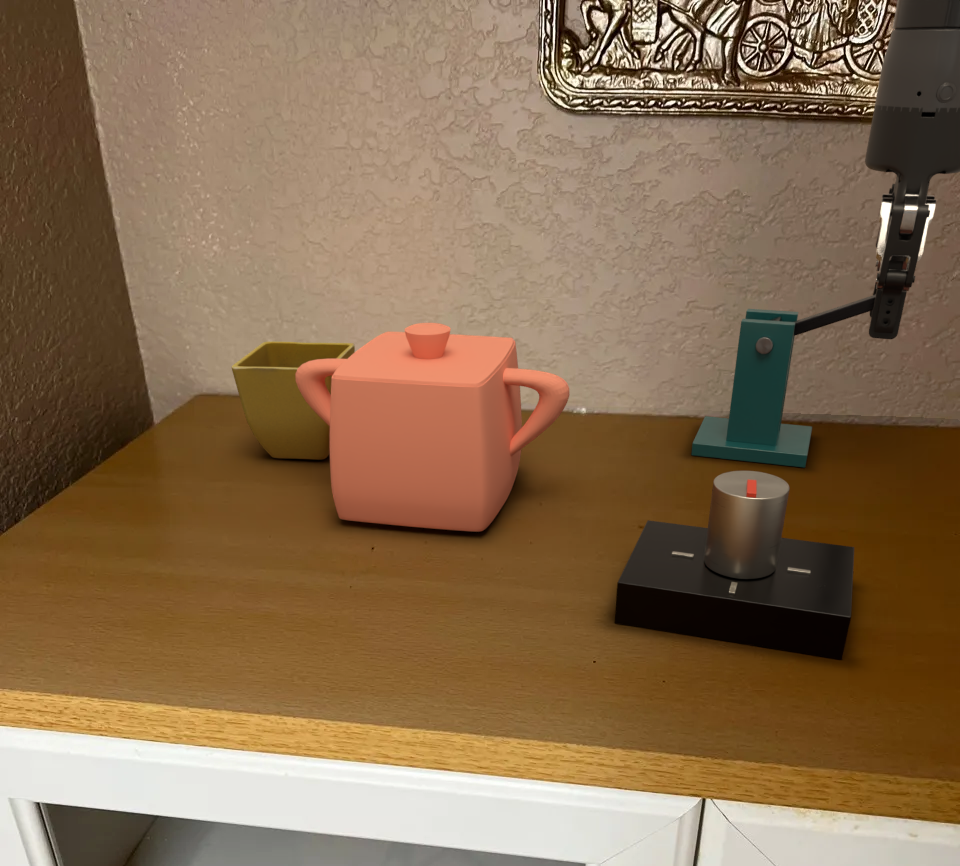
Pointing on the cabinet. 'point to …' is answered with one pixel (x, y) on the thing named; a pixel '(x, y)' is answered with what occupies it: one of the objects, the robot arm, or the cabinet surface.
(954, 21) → the robot arm
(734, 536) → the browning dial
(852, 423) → the cabinet surface
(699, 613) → the dial panel
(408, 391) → the sugar bowl
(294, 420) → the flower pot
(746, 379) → the lever bracket
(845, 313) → the lever
